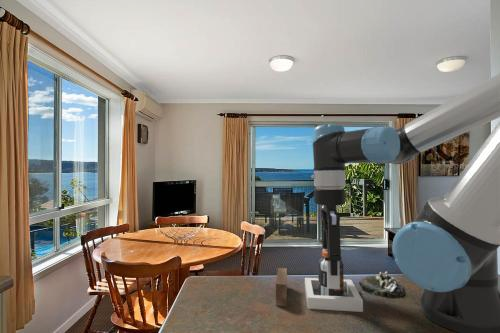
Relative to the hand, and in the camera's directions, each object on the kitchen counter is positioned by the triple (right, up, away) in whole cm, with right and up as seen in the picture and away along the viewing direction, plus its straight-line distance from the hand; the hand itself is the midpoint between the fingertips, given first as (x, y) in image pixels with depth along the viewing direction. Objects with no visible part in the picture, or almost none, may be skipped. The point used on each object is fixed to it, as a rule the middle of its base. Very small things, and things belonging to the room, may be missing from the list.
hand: (330, 280), depth 68 cm
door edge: (-12, -4, +2) cm, 13 cm away
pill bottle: (0, -4, 0) cm, 4 cm away
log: (+15, -5, +6) cm, 17 cm away
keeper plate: (0, -4, 0) cm, 4 cm away
